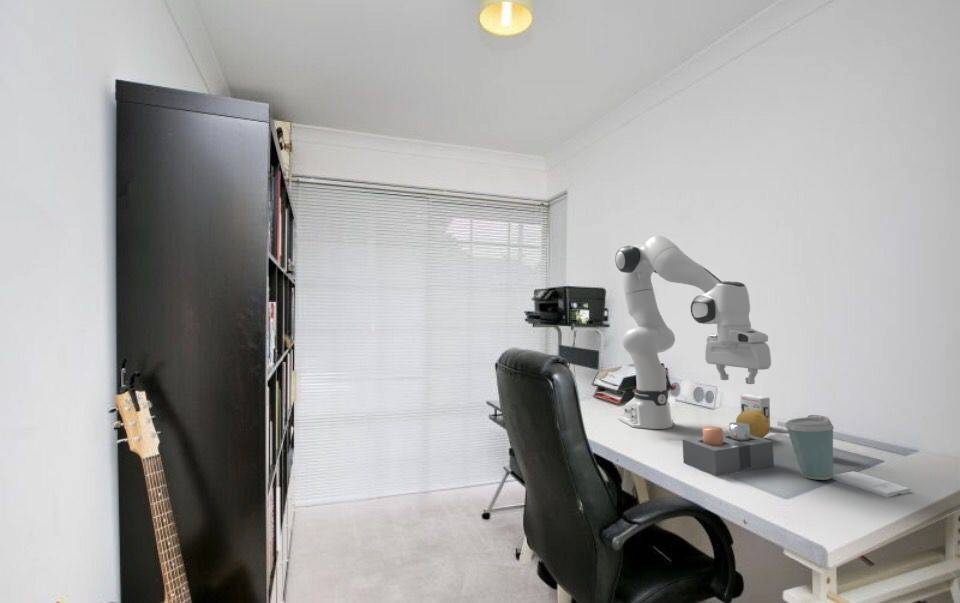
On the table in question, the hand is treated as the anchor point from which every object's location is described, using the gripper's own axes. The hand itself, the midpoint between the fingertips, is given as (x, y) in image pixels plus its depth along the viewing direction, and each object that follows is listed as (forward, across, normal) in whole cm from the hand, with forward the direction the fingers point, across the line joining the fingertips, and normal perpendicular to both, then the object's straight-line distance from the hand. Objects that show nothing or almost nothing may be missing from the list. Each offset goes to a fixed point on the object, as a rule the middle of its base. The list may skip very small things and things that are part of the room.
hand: (737, 381), depth 133 cm
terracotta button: (+20, 0, -10) cm, 22 cm away
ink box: (+24, -26, +36) cm, 51 cm away
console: (+24, 0, -5) cm, 24 cm away
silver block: (+20, 0, 0) cm, 20 cm away
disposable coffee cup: (+24, +16, +8) cm, 30 cm away
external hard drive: (+25, +25, +14) cm, 38 cm away
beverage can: (+24, +6, +24) cm, 34 cm away
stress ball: (+24, -15, +22) cm, 36 cm away
